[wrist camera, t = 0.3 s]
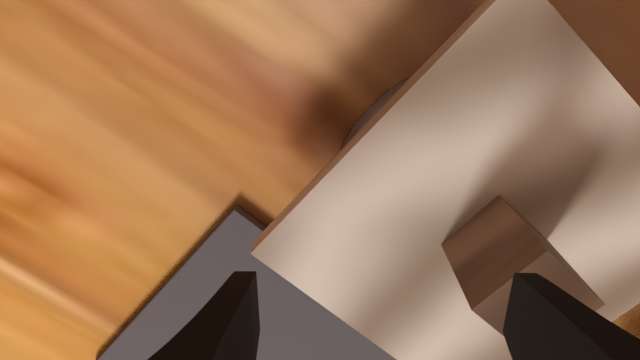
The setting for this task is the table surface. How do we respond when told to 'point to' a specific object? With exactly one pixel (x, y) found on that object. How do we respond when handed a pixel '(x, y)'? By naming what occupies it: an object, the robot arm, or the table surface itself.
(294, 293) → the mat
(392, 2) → the table surface
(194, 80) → the table surface
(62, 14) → the table surface
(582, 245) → the lid
